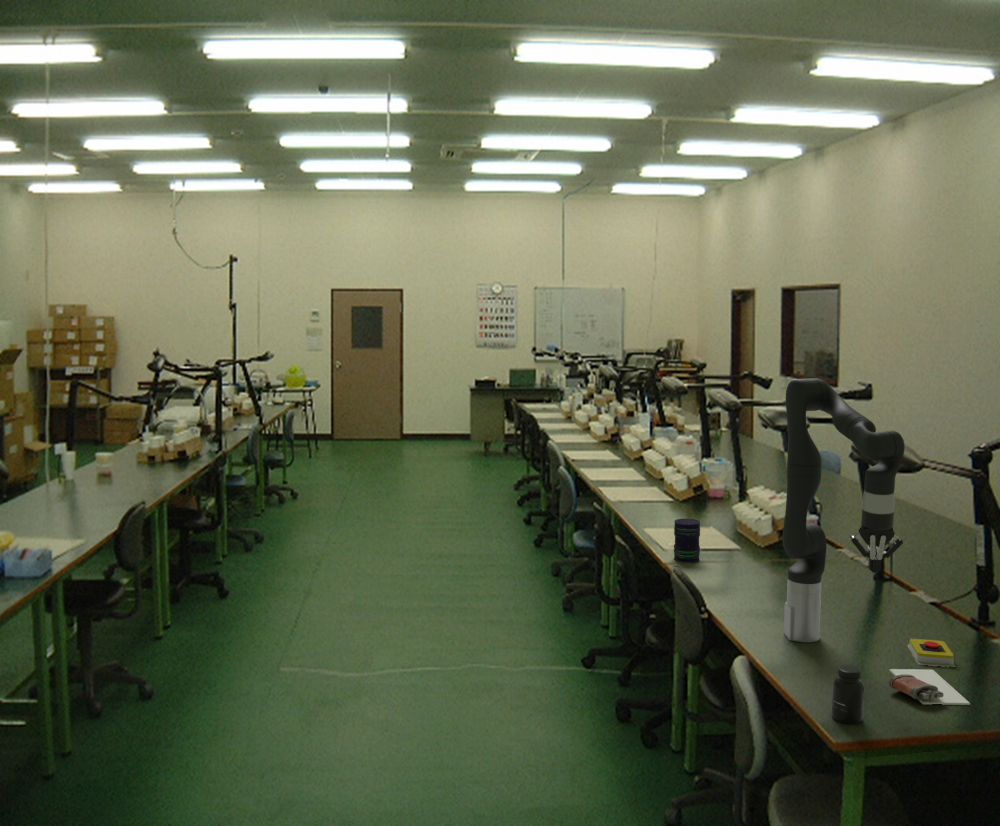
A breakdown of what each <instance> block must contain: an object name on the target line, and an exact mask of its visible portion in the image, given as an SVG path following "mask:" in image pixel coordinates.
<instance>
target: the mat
mask: <svg viewBox="0 0 1000 826" xmlns="http://www.w3.org/2000/svg"><path fill="white" fill-rule="evenodd" d="M889 672H890V673H891V675H893V677H894V676H897V675H902V674H908V675H912V676H914V677H915V678H917V679H919V680H921V681H923V682H925V683H928V684H930V685H934V686H936V687H937V688H938V691H940V692H942V693H943V694H944V696H943V697H941V698H934V700H928V699H926V700H918V702H919V703H921V704H922V705H932V704H942V705H943V706H944V705H945V706H951V705H952V706H971V705H970V704H971V702H969V701H968V700H967V698H965V697H964V696H963V695H961V693H959V692H958V691H957V690H956V689H955V688H954V687H953V686H952V685H950V684H949V683H948V681H946V680H945V679H944V678H942V677H941V675H939V674H938V673H937V672H936V671H935V670H934V669H920V668H919V669H916V668H915V669H913V668H912V669H909V668H907V669H906V668H905V669H904V668H903V669H902V668H901V669H900V668H898V669H897V668H890V669H889ZM942 705H941V706H942Z"/></svg>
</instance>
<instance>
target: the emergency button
mask: <svg viewBox="0 0 1000 826" xmlns="http://www.w3.org/2000/svg"><path fill="white" fill-rule="evenodd" d="M907 646H908V647H907ZM906 647H907V648H908V651H911V652H910V654H911V653H912V654H911V655H912V657H913V659H914V658H915V659H914V660H915V662H916V664H917V663H918V664H917V665H919V666H924V665H928V666H927V667H937V666H941V667H940V668H949V667H948V666H953V667H955V668H956V665H955V661H954V658H955V657H954V653H953V652H952V651H951V650H950V648H949V647H948V645H947V644H946V642H945V641H943V640H934V639H919V638H910V639H909V643H908V644H907V645H906ZM945 666H947V667H945Z"/></svg>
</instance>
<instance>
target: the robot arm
mask: <svg viewBox="0 0 1000 826" xmlns="http://www.w3.org/2000/svg"><path fill="white" fill-rule="evenodd" d="M785 411H786V423H787V425H786V426H787V457H786V458H787V460H786V498H785V501H786V502H785V513H784V514H785V515H784V520H783V529H782V546H783V549H784V552H785V553H786V555H787V556H788V557H789V558H791V559H797V560H796V562H795V563H794V564H792V565H791V566H790V567H789V568H788V570H787V581H786V582H787V586H786V589H787V592H786V601H785V602H784V612H783V613H784V615H783V616H784V617H783V618H784V620H783V622H784V623H783V634H784V635H785V636H786V638H787V639H788V641H794V642H797V643H798V642H800V643H816V642H818V641H819V640H820V633H821V628H820V627H821V599H822V576H823V575H824V572H825V567H826V557H827V536H826V534H825V530H823V528H822V527H821V526H820V525H818V524H816V523H807V522H808V521H807V518H808V512H809V508H810V505H811V504H812V502H813V499H814V497H815V495H816V494H817V491H818V489H819V487H820V484H821V480H822V456H821V453H820V451H819V449H818V447H817V446H816V444H815V442H814V441H813V439H812V437H811V435H810V432H809V430H808V425H807V412H815V411H816V412H817V411H821V412H824V413H825V414H828V415H830V416H831V419H832V423H833V426H834V428H835V429H836V430H837V431H838V432H839V433H840V434H842V435H843V436H844V437H846V438H847V439H848V441H849V440H850V441H851V442H852V444H853V445H854V446H855V448H856V450H857V451H858V453H859V454H860V455H861V456H862V457H863V458H864V459H866V460H870V461H878V462H877V464H875V465H874V466H872V467H869V468H867V469H866V471H865V473H864V489H863V495H862V503H861V504H862V505H861V520H860V521H861V522H860V527H859V528H858V532H857V533H855V534H854V535H853V534H852V535H850V537H849V538H850V541H851V542H852V544H853V545H854V546H855V547H856V549H857V550H858V552H859V553H860V554H861V555H862V556H863V557H864V558H867V559H868V562H867V563H868V564H867V565H868V566H867V567H868V570H869V571H870V572H871V573H872V574H879V572H880V571H881V570H882V562H883V561H882V560H883V559H885V558H886V559H889V558H890V557H891V556H892V555H893V554H894V553H895V552H896V551H897V550H898V549H899V548H900V547H901V546H902V545H903V543H904V541H903V540H902V538H901V537H900V536H897V535H896V534H895V533H896V532H895V529H894V522H895V521H894V519H895V509H896V504H895V502H896V501H895V500H896V499H895V489H896V488H895V486H896V475H897V473H898V471H899V468H900V465H901V462H902V460H903V457H904V453H905V447H906V446H905V440H904V437H903V436H902V435H901V434H900V433H899V432H898V431H895V430H885V431H884V430H883V431H877V428H876V425H875V423H873V421H872V420H870V419H869V418H867V417H866V416H865V415H863V414H861V413H860V412H858V411H857V410H856V409H854V408H853V407H851V406H850V405H849V404H848V403H847V402H846V401H845V400H844V399H843V398H842V397H841V396H840V395H839V393H837V392H836V390H835V389H834V388H833V387H832V386H830V384H829V383H827V381H825V380H823V379H822V378H817V377H815V378H794V379H792V380H790V381H789V382H788V384H787V386H786V390H785ZM861 539H862V540H863V542H865V544H866V545H867V549H865V548H864V547H863V545H862V544H861V543H862V540H861ZM889 542H890V544H889ZM887 545H888V546H887ZM885 546H886V548H885Z"/></svg>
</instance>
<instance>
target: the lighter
mask: <svg viewBox="0 0 1000 826" xmlns="http://www.w3.org/2000/svg"><path fill="white" fill-rule="evenodd" d="M888 686H889V687H890V688H892V689H894V690H897V691H900V692H902V693H904V694H905V695H908V696H910V697H911V698H912V699H914V700H917V701H919V700H926V699H928V700H934V698H941V697H943V696H944V694H943V693H942V692H940V691H938V688H937V687H936V686H934V685H930V684H928V683H925V682H923V681H921V680H919V679H917V678H915V677H914V676H912V675H908V674H902V675H897V676H894V675H893V676H892V677H890V679H889V681H888Z"/></svg>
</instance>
